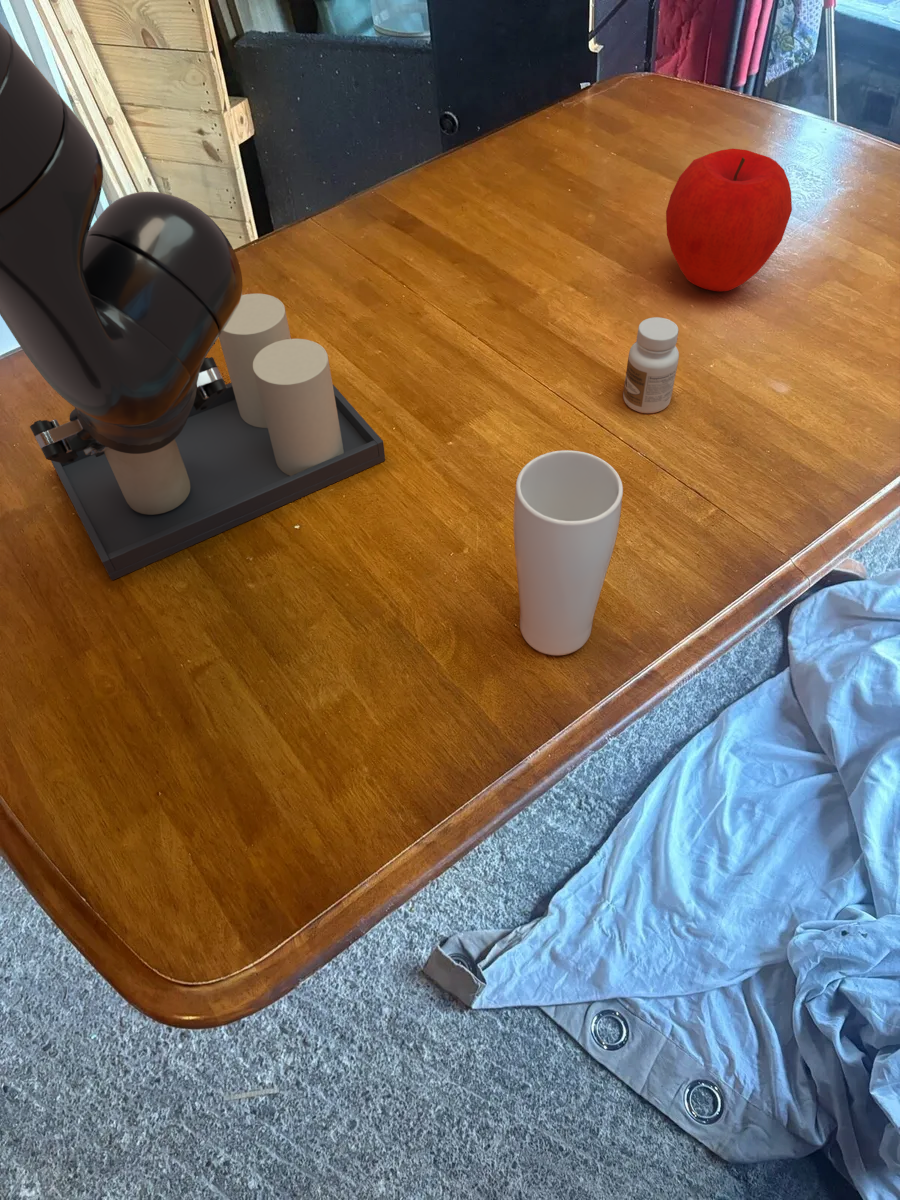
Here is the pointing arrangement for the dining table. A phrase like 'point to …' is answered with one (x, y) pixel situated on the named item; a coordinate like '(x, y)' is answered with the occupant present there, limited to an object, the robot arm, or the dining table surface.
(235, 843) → the dining table surface
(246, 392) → the ivory candle
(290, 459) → the ivory candle
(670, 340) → the pill bottle
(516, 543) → the drinking glass
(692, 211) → the apple
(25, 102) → the robot arm
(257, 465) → the tray
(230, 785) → the dining table surface
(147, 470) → the candle
